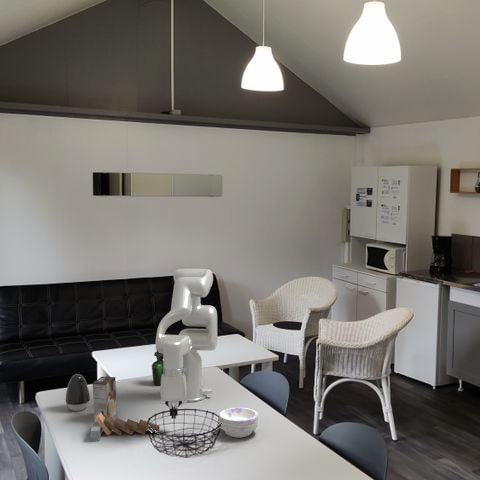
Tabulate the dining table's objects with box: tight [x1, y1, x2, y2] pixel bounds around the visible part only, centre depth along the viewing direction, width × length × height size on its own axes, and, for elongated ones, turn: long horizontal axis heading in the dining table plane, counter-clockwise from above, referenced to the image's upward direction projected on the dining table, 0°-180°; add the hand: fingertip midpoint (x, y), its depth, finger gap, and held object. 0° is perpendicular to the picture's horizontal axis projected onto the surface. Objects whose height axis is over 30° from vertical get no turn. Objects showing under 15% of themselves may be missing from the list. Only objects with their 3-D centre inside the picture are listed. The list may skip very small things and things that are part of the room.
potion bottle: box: [151, 349, 164, 387], centre depth 294 cm, size 8×8×18 cm
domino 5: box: [138, 419, 161, 433], centre depth 237 cm, size 2×5×8 cm
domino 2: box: [103, 415, 124, 436], centre depth 235 cm, size 2×5×8 cm
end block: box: [90, 420, 104, 442], centre depth 235 cm, size 3×14×4 cm, turn 5°
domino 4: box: [125, 418, 147, 435], centre depth 236 cm, size 2×5×8 cm
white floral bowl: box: [218, 407, 259, 439], centre depth 235 cm, size 15×15×8 cm
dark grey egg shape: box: [65, 373, 91, 412], centre depth 261 cm, size 10×10×15 cm
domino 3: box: [114, 417, 135, 436], centre depth 236 cm, size 2×5×8 cm
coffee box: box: [92, 376, 117, 421], centre depth 251 cm, size 9×6×16 cm
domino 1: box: [95, 412, 113, 436], centre depth 235 cm, size 2×5×8 cm
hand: (173, 417), depth 237 cm, fingers closed
